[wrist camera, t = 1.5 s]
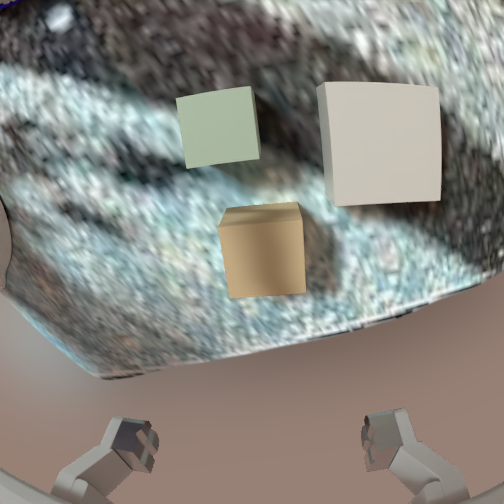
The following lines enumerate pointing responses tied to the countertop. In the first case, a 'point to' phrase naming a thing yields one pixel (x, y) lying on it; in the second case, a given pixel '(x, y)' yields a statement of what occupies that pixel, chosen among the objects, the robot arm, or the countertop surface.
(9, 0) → the toy car
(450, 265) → the countertop surface
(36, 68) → the countertop surface
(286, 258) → the oak block
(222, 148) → the green cube
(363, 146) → the pedestal
